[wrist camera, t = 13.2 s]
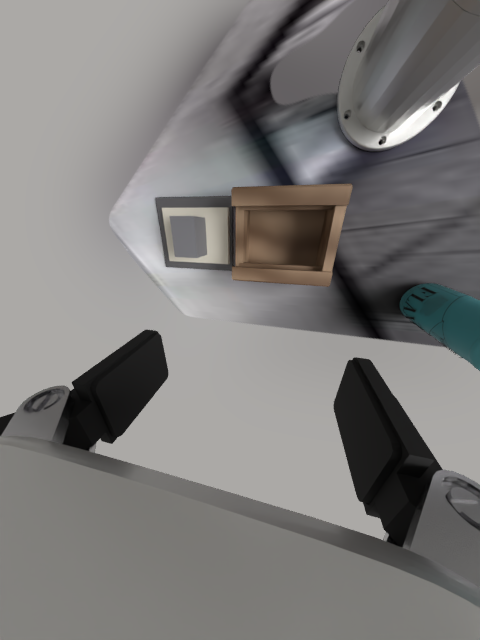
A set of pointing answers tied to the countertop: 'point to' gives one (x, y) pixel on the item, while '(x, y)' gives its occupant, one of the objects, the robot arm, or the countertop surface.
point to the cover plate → (212, 233)
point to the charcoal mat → (195, 203)
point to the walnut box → (288, 232)
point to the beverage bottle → (446, 318)
